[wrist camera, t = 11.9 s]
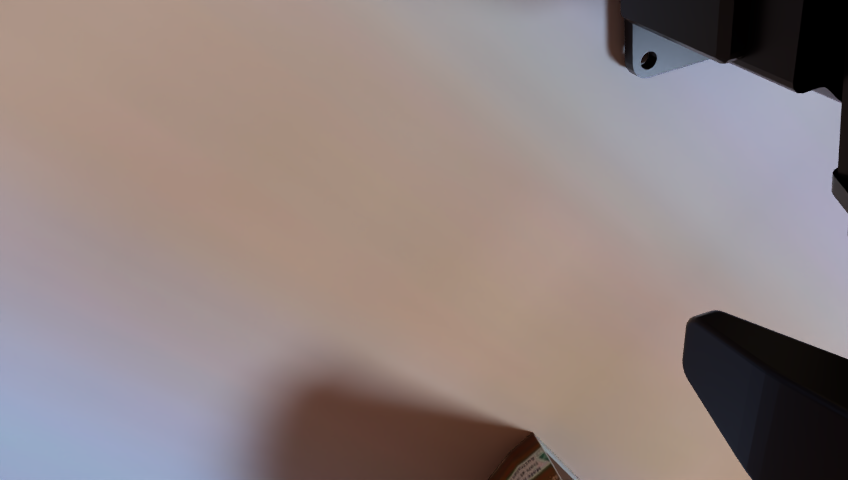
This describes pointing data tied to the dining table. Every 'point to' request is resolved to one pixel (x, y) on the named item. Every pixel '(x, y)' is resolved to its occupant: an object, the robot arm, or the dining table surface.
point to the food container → (532, 463)
